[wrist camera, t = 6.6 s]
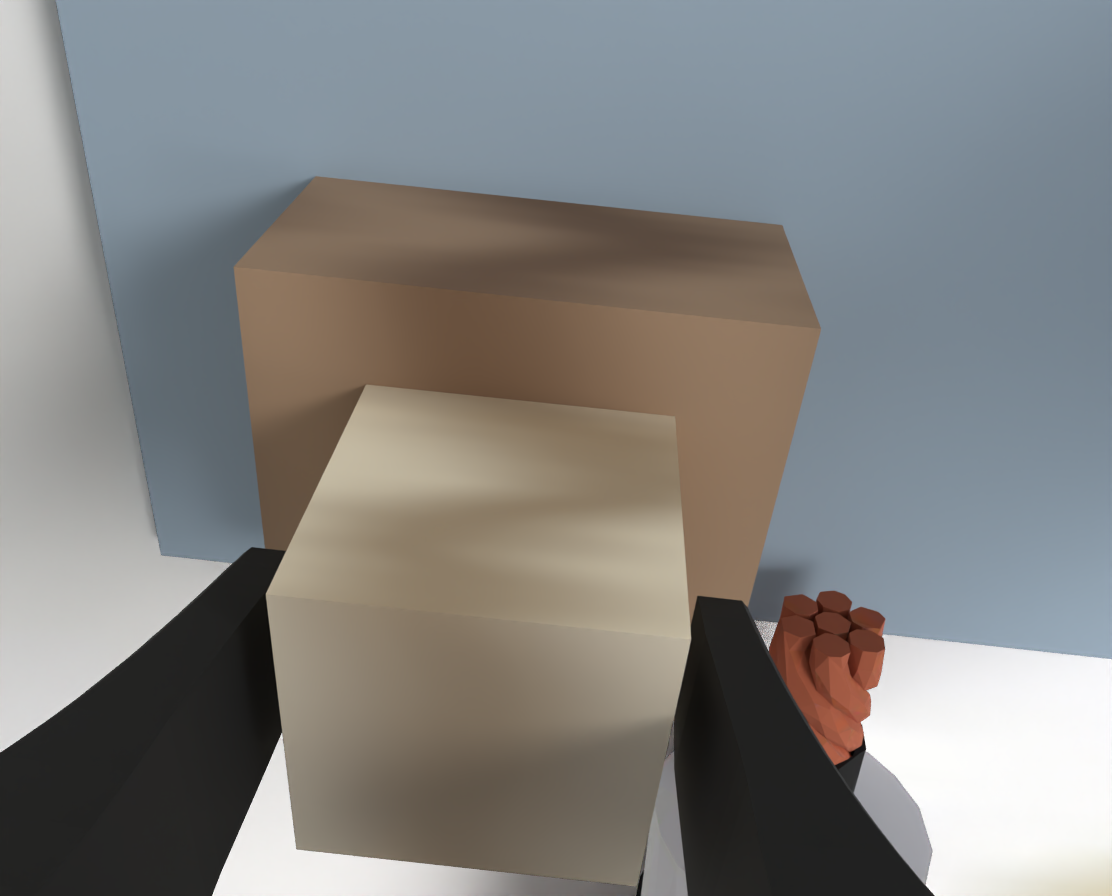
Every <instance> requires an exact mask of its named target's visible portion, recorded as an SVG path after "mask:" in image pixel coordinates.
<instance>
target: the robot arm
mask: <svg viewBox="0 0 1112 896" xmlns="http://www.w3.org/2000/svg"><path fill="white" fill-rule="evenodd" d="M285 553H286V551H283V550H274V549H265V548H256V547H251V548H250V549H248V550H247V551H246V552H244V553H243V554H242V555H241V556H240V557H239V558H238V559H237V560H236V561H235V562H234V563H232V564H231V565H230V566H229V567H228V568H227V569H226V570H225V571H224V572H223V573H222V574H221V575H220V576H219V577H218V578H217V579H216V580H215V581H213V582H212V583H211V584H210V585H209V586H208V587H207V588H206V589H205V590H204V591H203V592H202V593H201V594H200V595H199V596H197V597H196V598H195V599H194V600H193V601H192V602H191V603H190V604H189V605H188V606H187V607H185V608H184V609H183V610H182V611H181V612H180V613H179V614H178V615H177V616H176V617H174V618H173V619H172V620H171V621H170V622H169V623H168V624H166V625H165V626H164V627H163V628H162V629H161V630H160V631H159V632H157V633H156V634H155V635H154V636H153V637H152V638H151V639H149V640H148V641H147V642H146V643H145V644H144V645H143V646H141V647H140V648H139V649H138V650H137V651H136V652H134V653H133V654H132V655H131V656H130V657H129V658H127V659H126V660H125V661H124V662H122V663H121V664H120V665H119V666H117V667H116V668H115V669H114V670H112V671H111V672H110V673H109V674H107V675H106V676H105V677H104V678H102V679H101V680H100V681H99V682H97V683H96V684H95V685H94V686H92V687H91V688H90V689H89V690H87V691H86V692H85V693H84V694H82V695H81V696H80V697H78V698H77V699H76V700H74V701H73V702H72V703H70V704H69V705H68V706H66V707H65V708H64V709H62V710H61V711H60V712H58V713H57V714H56V715H54V716H53V717H51V718H50V719H49V720H47V721H46V722H44V723H43V724H42V725H40V726H39V727H37V728H36V729H34V730H33V731H32V732H30V733H29V734H27V735H26V736H24V737H23V738H21V739H20V740H18V741H17V742H15V743H14V744H13V745H11V746H10V747H8V748H7V749H5V750H4V751H2V752H0V896H212V894H213V892H214V889H215V886H216V884H217V881H218V879H219V876H220V874H221V871H222V869H223V867H224V864H225V862H226V860H227V857H228V855H229V853H230V851H231V848H232V846H233V844H234V841H235V839H236V837H237V835H238V832H239V830H240V828H241V825H242V823H243V821H244V819H245V816H246V814H247V812H248V809H249V807H250V805H251V803H252V800H253V798H254V796H255V793H256V791H257V789H258V787H259V784H260V782H261V780H262V777H263V775H264V773H265V770H266V768H267V766H268V764H269V761H270V759H271V757H272V754H273V752H274V750H275V747H276V745H277V743H278V740H279V738H280V735H281V733H282V726H281V717H280V709H279V701H278V692H277V684H276V676H275V667H274V659H273V651H272V643H271V634H270V626H269V618H268V609H267V601H266V593H267V590H268V588H269V586H270V584H271V582H272V580H273V578H274V576H275V574H276V572H277V570H278V567H279V565H280V563H281V561H282V559H283V557H284V555H285ZM690 630H691V643H690V647H689V652H688V656H687V661H686V665H685V670H684V675H683V679H682V684H681V688H680V693H679V697H678V702H677V707H676V711H675V716H674V772H675V782H676V792H677V801H678V811H679V820H680V829H681V838H682V847H683V856H684V865H685V874H686V884H687V893H688V896H934V895H933V893H932V892H931V891H930V890H929V889H928V888H927V887H926V885H925V884H924V883H923V882H922V881H921V879H920V878H919V877H918V876H917V875H916V873H915V872H914V871H913V870H912V869H911V867H910V866H909V865H908V864H907V863H906V861H905V860H904V859H903V858H902V857H901V855H900V854H899V853H898V852H897V850H896V849H895V848H894V847H893V845H892V844H891V843H890V841H889V840H888V839H887V838H886V836H885V835H884V834H883V832H882V831H881V830H880V829H879V827H878V826H877V825H876V823H875V822H874V821H873V819H872V818H871V817H870V815H869V814H868V813H867V811H866V810H865V808H864V807H863V806H862V804H861V803H860V802H859V800H858V799H857V797H856V796H855V794H854V793H853V792H852V790H851V789H850V787H849V786H848V784H847V783H846V781H845V780H844V778H843V777H842V775H841V774H840V772H839V771H838V769H837V768H836V766H835V765H834V763H833V762H832V760H831V759H830V757H829V756H828V754H827V753H826V751H825V750H824V748H823V746H822V745H821V743H820V742H819V740H818V738H817V737H816V735H815V734H814V732H813V730H812V729H811V727H810V725H809V723H808V722H807V720H806V718H805V717H804V715H803V713H802V712H801V710H800V708H799V706H798V705H797V703H796V701H795V700H794V698H793V696H792V694H791V693H790V691H789V689H788V687H787V685H786V684H785V682H784V680H783V678H782V676H781V674H780V672H779V671H778V669H777V667H776V665H775V663H774V661H773V659H772V657H771V655H770V653H769V651H768V649H767V647H766V645H765V643H764V641H763V639H762V637H761V635H760V633H759V631H758V629H757V627H756V624H755V622H754V620H753V618H752V616H751V613H750V611H749V609H748V607H747V606H746V605H745V604H744V602H743V601H742V600H733V599H723V598H714V597H705V596H697V600H696V604H695V609H694V613H693V618H692V622H691V627H690Z"/></svg>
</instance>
